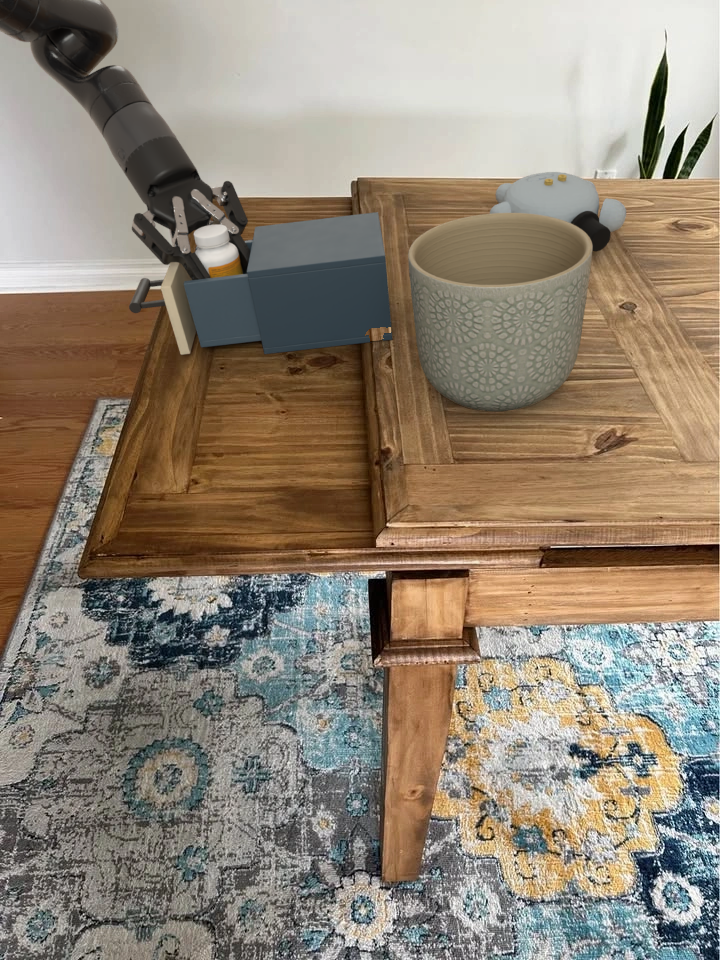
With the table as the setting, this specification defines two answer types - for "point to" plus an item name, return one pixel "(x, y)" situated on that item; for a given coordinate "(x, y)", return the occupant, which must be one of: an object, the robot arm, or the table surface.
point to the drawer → (203, 307)
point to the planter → (499, 307)
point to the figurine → (563, 203)
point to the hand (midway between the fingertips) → (227, 274)
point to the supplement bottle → (217, 251)
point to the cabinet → (319, 282)
